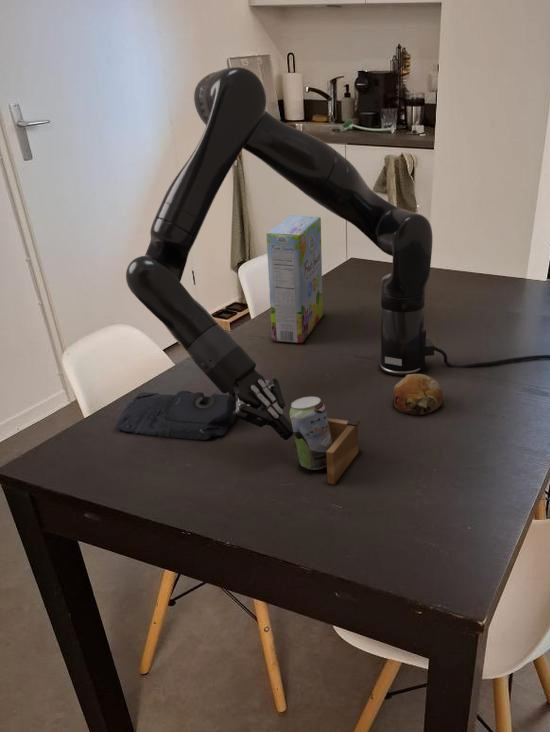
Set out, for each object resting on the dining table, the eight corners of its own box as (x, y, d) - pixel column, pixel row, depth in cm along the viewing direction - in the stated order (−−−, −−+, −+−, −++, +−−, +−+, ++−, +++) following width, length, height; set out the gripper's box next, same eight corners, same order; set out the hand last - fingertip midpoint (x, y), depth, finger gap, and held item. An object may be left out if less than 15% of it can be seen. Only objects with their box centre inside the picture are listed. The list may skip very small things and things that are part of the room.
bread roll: (444, 417, 141) (449, 378, 140) (433, 417, 132) (440, 375, 131) (397, 410, 144) (403, 372, 143) (384, 410, 134) (390, 369, 133)
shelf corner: (273, 472, 117) (270, 440, 114) (301, 441, 126) (299, 410, 123) (336, 484, 113) (334, 451, 110) (360, 452, 123) (360, 420, 119)
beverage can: (327, 476, 116) (325, 412, 109) (287, 470, 118) (282, 406, 111) (340, 458, 121) (338, 395, 114) (300, 452, 123) (296, 390, 116)
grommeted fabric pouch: (145, 398, 142) (141, 376, 140) (247, 406, 139) (244, 384, 136) (108, 432, 130) (103, 409, 127) (219, 442, 126) (216, 419, 124)
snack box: (306, 345, 167) (300, 234, 153) (271, 343, 168) (262, 233, 154) (325, 315, 185) (321, 214, 171) (294, 314, 186) (287, 213, 172)
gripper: (212, 359, 108) (287, 442, 111) (253, 332, 118) (320, 408, 121) (187, 386, 112) (260, 464, 115) (229, 357, 123) (294, 430, 126)
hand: (291, 435), depth 118 cm, fingers closed
